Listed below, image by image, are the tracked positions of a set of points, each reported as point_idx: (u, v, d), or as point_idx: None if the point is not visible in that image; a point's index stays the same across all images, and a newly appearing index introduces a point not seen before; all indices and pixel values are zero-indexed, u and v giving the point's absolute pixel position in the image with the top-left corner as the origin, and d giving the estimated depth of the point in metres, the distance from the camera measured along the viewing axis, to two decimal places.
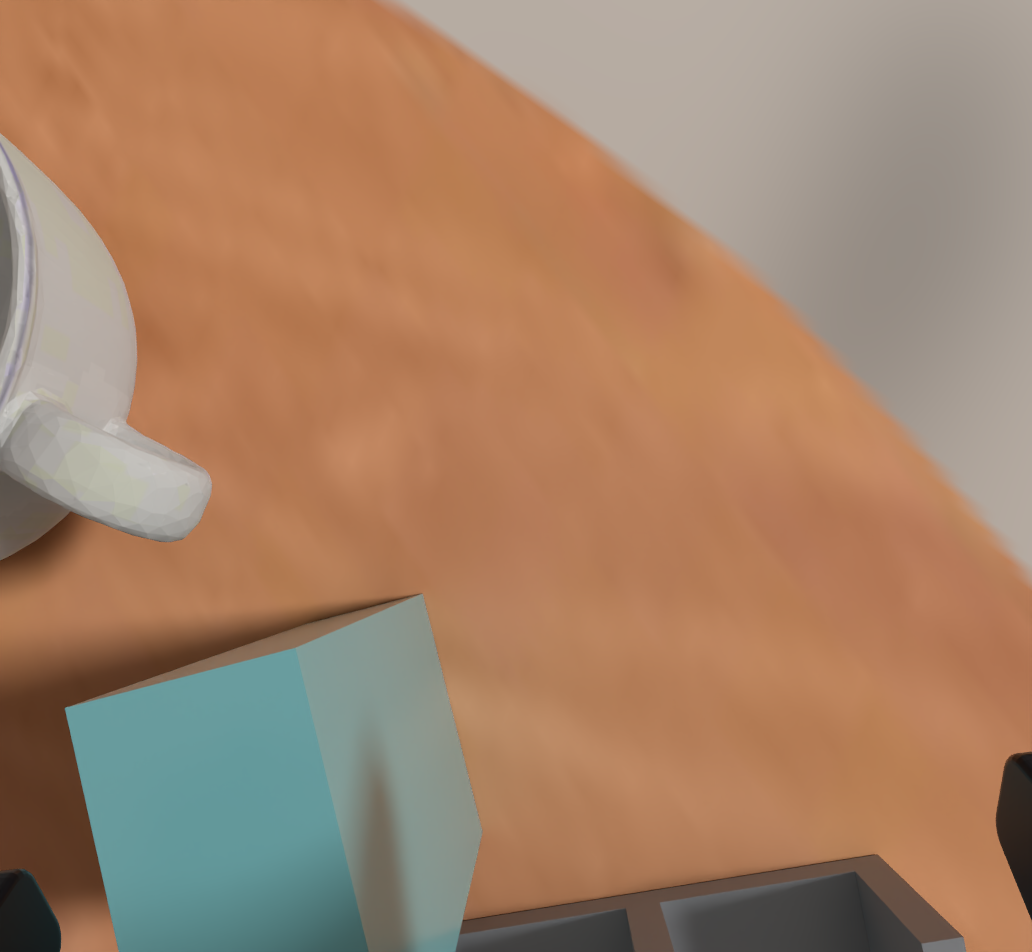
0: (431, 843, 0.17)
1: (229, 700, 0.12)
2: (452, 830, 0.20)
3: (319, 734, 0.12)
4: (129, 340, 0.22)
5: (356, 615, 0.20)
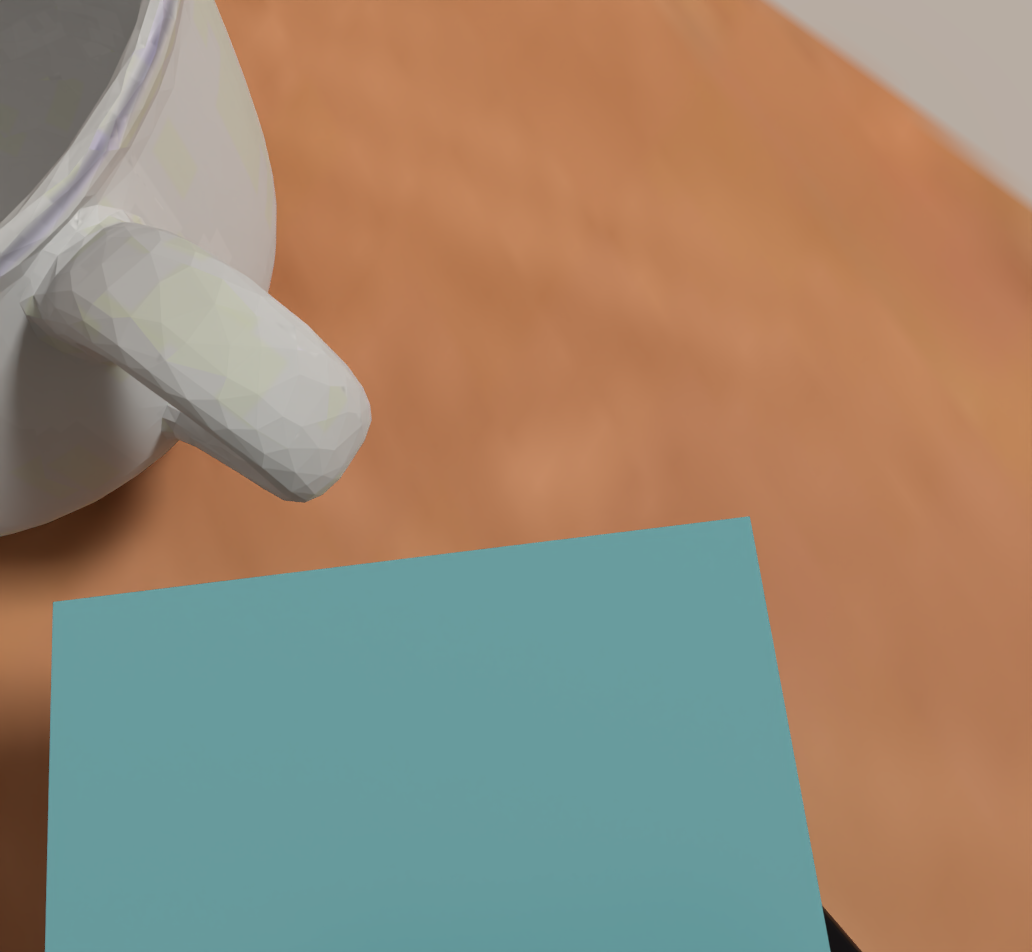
0: None
1: (535, 645, 0.04)
2: None
3: None
4: (268, 244, 0.15)
5: None
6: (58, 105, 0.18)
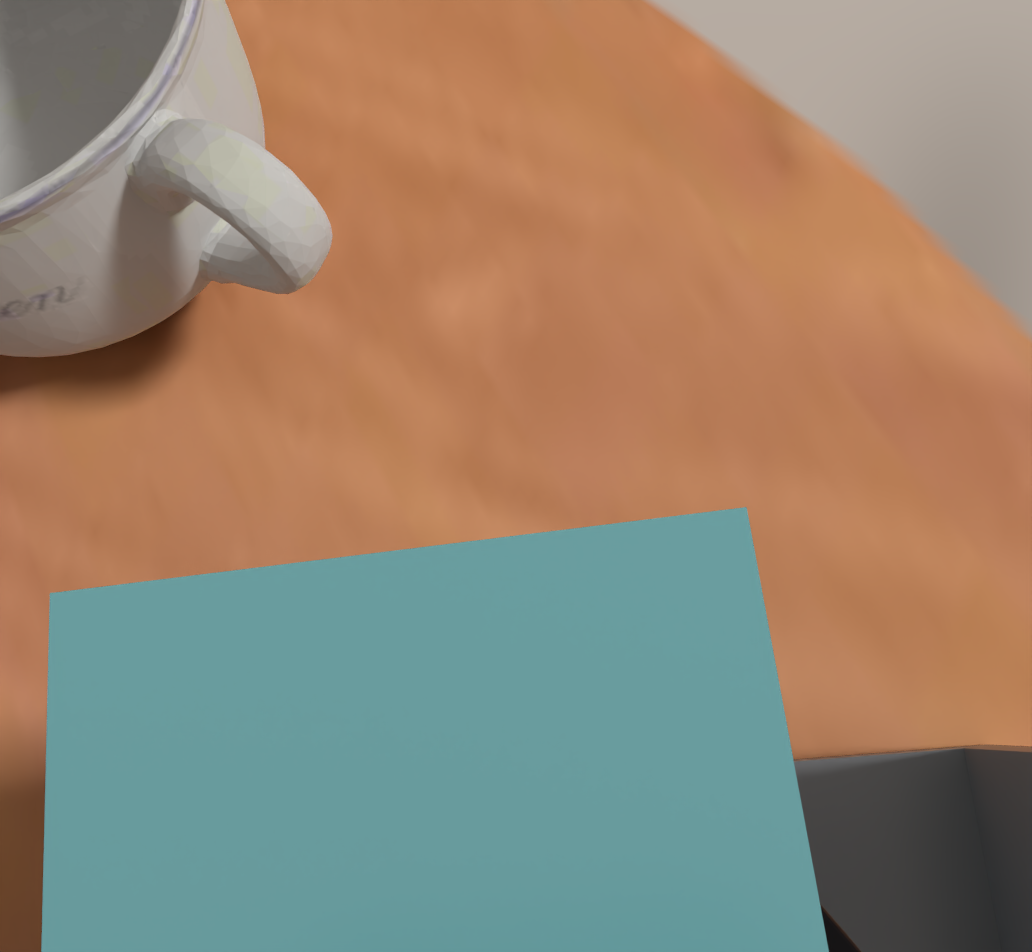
0: None
1: (532, 636, 0.04)
2: None
3: None
4: None
5: None
6: (104, 67, 0.25)
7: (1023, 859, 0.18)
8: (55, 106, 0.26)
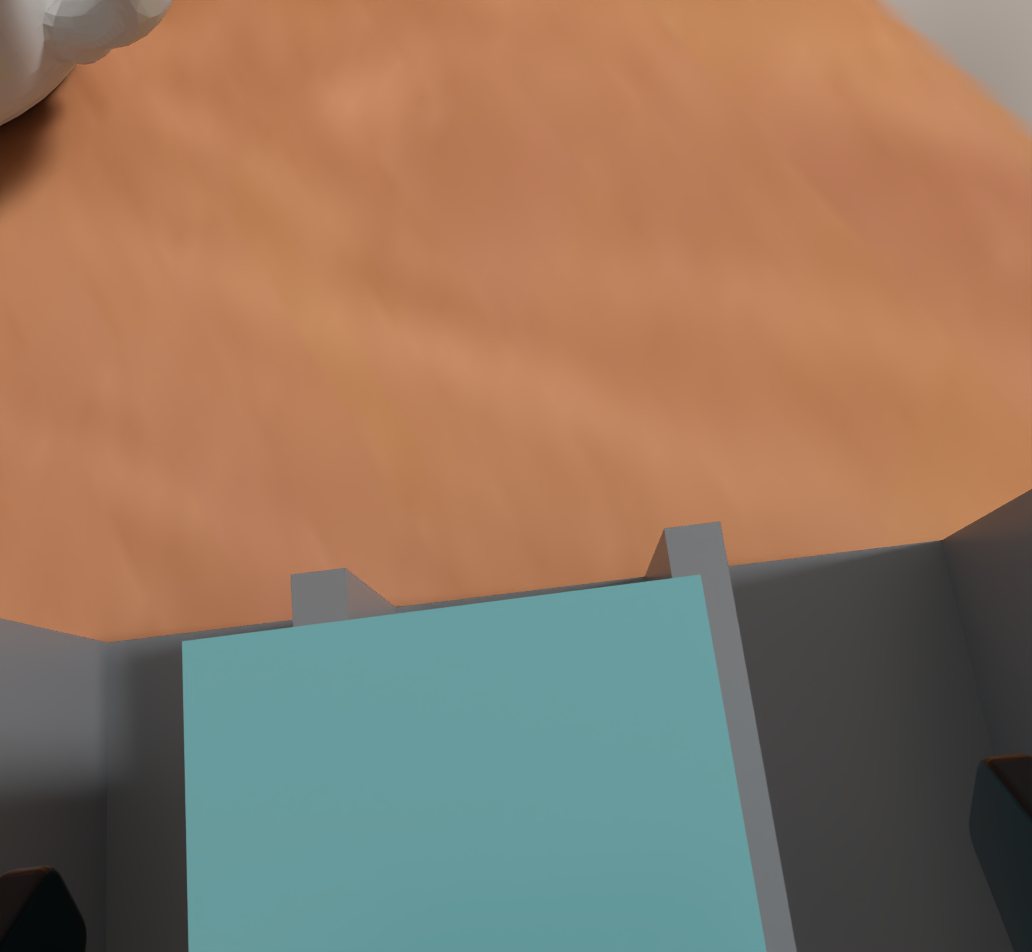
0: None
1: (542, 673, 0.05)
2: None
3: None
4: None
5: None
6: None
7: (1014, 638, 0.15)
8: None
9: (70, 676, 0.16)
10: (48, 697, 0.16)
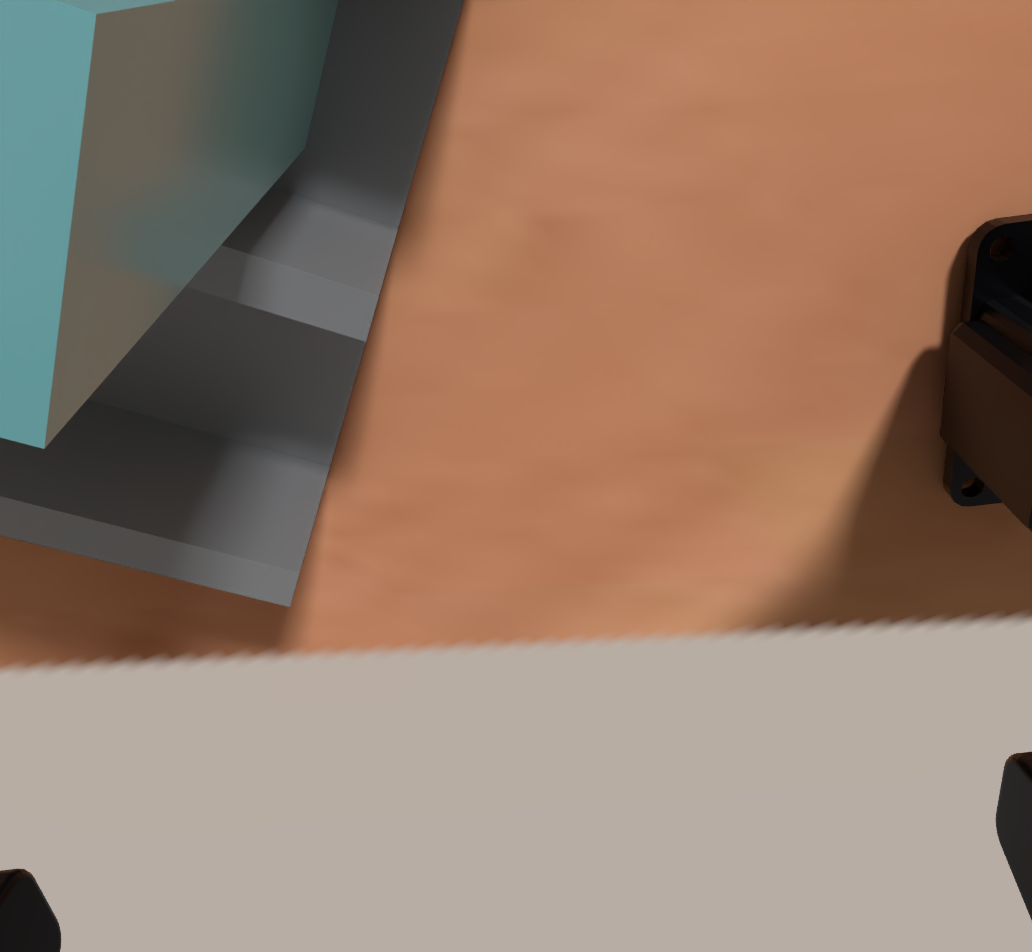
0: None
1: None
2: None
3: None
4: None
5: None
6: None
7: None
8: None
9: None
10: None
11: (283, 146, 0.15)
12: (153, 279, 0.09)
